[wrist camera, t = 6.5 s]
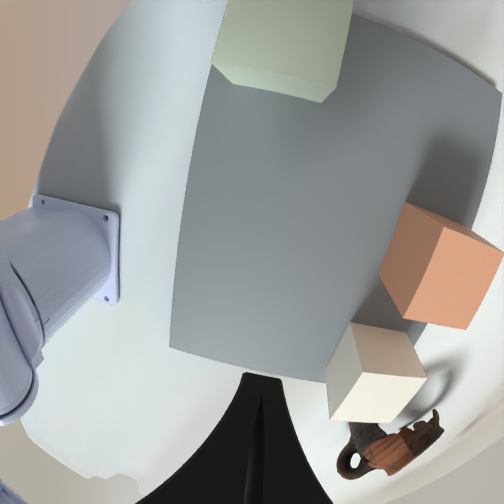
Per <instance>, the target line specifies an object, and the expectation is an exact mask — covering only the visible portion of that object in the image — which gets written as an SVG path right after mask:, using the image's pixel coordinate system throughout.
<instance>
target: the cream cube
mask: <svg viewBox="0 0 504 504" xmlns="http://www.w3.org/2000/svg"><path fill="white" fill-rule="evenodd" d="M325 377H326V386H327V397H328V407H329V419H330V420H336V421H349V422H366V423H391V422H392V421H393V419H394V418H395V417H396V416H397V415H398V414H399V413H400V412H401V411H402V409H403V408H404V407H405V406H406V405H407V404H408V402H409V401H410V400H411V399H412V398H413V396H414V395H415V394H416V393H417V391H418V390H419V389H420V388H421V386H422V385H423V384H424V382H425V381H426V380H427V379H428V378H427V375H426V373H425V371H424V369H423V366H422V364H421V362H420V360H419V358H418V356H417V354H416V351H415V349H414V347H413V345H412V343H411V341H410V339H409V337H408V335H407V333H406V332H400V331H395V330H389V329H384V328H378V327H373V326H368V325H363V324H357V323H352V322H349V324H348V326H347V328H346V330H345V332H344V334H343V336H342V338H341V340H340V342H339V344H338V346H337V348H336V350H335V352H334V354H333V356H332V358H331V360H330V362H329V363H328V365H327V367H326V369H325Z"/></svg>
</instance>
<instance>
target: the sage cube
mask: <svg viewBox="0 0 504 504" xmlns="http://www.w3.org/2000/svg"><path fill="white" fill-rule="evenodd" d="M353 4H354V0H229V1H228V4H227V7H226V11H225V14H224V17H223V20H222V24H221V27H220V31H219V34H218V38H217V41H216V45H215V48H214V52H213V56H212V60H211V63H212V64H213V65H214V66H215V67H216V68H217V69H218V70H219V71H220V72H221V73H222V74H223V75H224V76H225V77H226V78H227V79H228V80H229V81H230V82H231V83H232V84H236V85H242V86H248V87H253V88H259V89H264V90H269V91H274V92H278V93H283V94H287V95H291V96H296V97H300V98H304V99H307V100H311V101H315V102H318V103H322V102H323V101H324V100H325V99H326V98H327V97H328V96H329V95H330V94H331V93H332V92H333V91H334V90H335V89H336V87H337V82H338V78H339V73H340V69H341V64H342V59H343V55H344V50H345V45H346V40H347V35H348V30H349V25H350V20H351V14H352V9H353Z"/></svg>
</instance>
